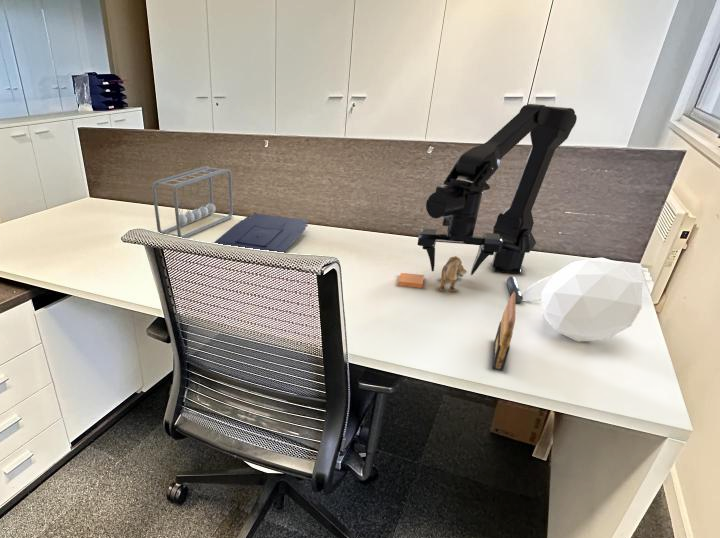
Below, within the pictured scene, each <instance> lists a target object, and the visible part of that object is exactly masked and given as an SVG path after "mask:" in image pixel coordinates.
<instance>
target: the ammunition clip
mask: <svg viewBox="0 0 720 538" xmlns="http://www.w3.org/2000/svg"><path fill="white" fill-rule="evenodd" d="M515 322H516V303H515V293H513V294H512V295H511V294H510V297H509V299H508V301H507V304H506V307H505V309H504V311H503V314H502V317H501V319H500V321H499V324H498V327H497V330H496V334H495V337H494V341H493V349H492V350H493V351H492V362H491V363H492V365H491V369H492V370H497V371H504V368H505V364H506V361H507V358H508V354H509V351H510V349H511V348H510V347H511V345H510V344H511V340H512V338H513V331H514V326H515V324H516V323H515Z"/></svg>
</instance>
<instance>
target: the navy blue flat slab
mask: <svg viewBox="0 0 720 538" xmlns="http://www.w3.org/2000/svg"><path fill="white" fill-rule="evenodd" d="M308 222H309V219H303V218H293V217H287V216H276V215H272V214H271V215H270V214H264V213H263V214H262V213H256V212H255V213H253V214H252V215H251V216H246V217H245V218H244V219H241V220H240V221H239V222H238V223H236V224H234V225H233V226H231V227H230V228H229V229H227V231H226V232H224V233H223V234H222V235H221V236H220V237H219V238H217V239H216V240H215V241H214V242H213V243H218V244H223V245H231V246H238V247H245V248H253V249H260V250H269V251H277V252H284V253H285V252H286V250H287V249H288V248H289V247H290V246H291V245H292V244H293V243H294V242H295V241H296V240H297V239H298V238H299V237H300V236H301V235H302V234H303V233H304V232H305V231H306V229H307V227H308V226H309V224H307V223H308Z"/></svg>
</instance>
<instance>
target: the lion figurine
mask: <svg viewBox="0 0 720 538" xmlns="http://www.w3.org/2000/svg"><path fill="white" fill-rule="evenodd" d="M467 272H468V271H467V270H466V269H465V268H464V266H463V264H462V260H461V258H460V257H458V256H457V255H456V256H451V257H450V258H448V260H447V262H446V264H444V265H443V267H442V268H441V278H440V287H439V288H438V291H439V292H444V291H445V289H446V288H445V285H446V283H450V285H449V291H450V292H456V288H455V285H456V284H457V280H458V279H459V278H463V277H464V275H466V273H467Z"/></svg>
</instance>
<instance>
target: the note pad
mask: <svg viewBox="0 0 720 538" xmlns="http://www.w3.org/2000/svg"><path fill="white" fill-rule="evenodd" d="M399 273H400V274H399V277H398V282H397V286H398V287H399V286H400V287H408V288H417V289H423V286H424V279H425V278H424V277H425V275H424V274H418V273H408V272H399Z"/></svg>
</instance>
